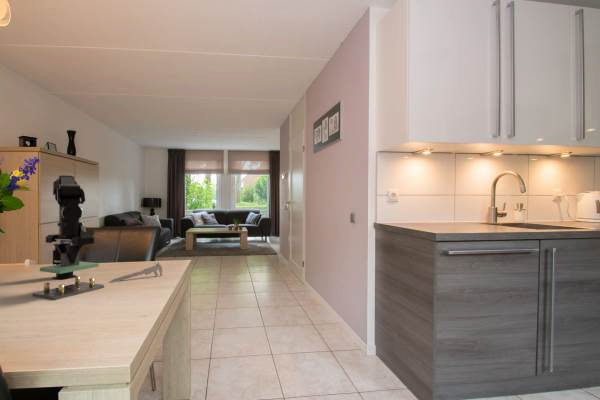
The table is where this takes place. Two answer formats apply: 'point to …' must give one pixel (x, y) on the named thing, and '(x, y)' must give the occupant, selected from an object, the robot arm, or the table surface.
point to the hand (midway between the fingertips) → (69, 263)
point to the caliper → (145, 271)
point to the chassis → (67, 289)
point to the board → (69, 269)
